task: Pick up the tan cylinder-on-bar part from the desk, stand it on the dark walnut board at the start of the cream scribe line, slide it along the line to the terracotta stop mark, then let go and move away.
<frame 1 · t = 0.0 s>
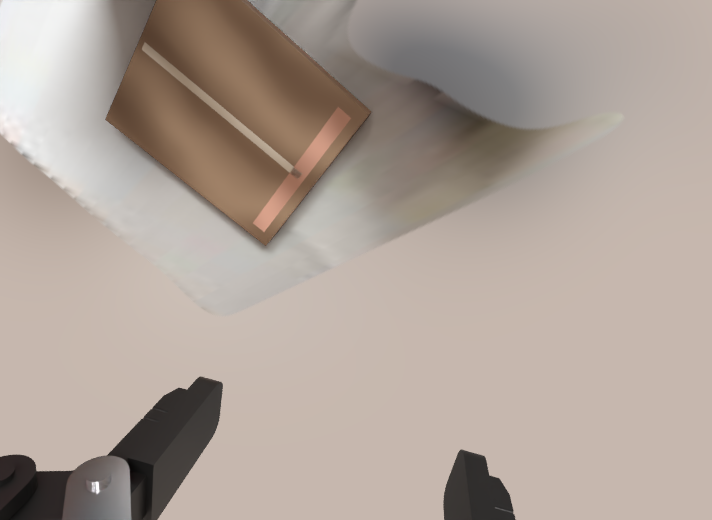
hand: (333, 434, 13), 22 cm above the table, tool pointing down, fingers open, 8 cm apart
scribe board: (237, 114, 32), on the table
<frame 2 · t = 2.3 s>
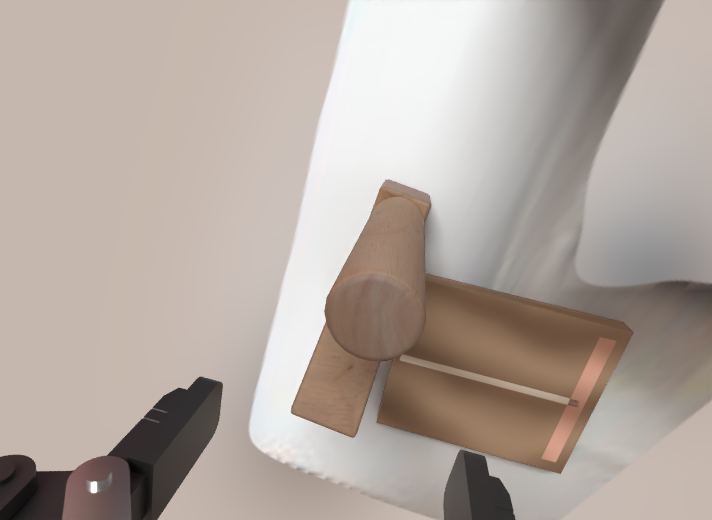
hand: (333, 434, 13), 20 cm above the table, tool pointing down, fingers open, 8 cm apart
tan cylinder-on-bar part: (383, 249, 32), on the table
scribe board: (490, 370, 34), on the table
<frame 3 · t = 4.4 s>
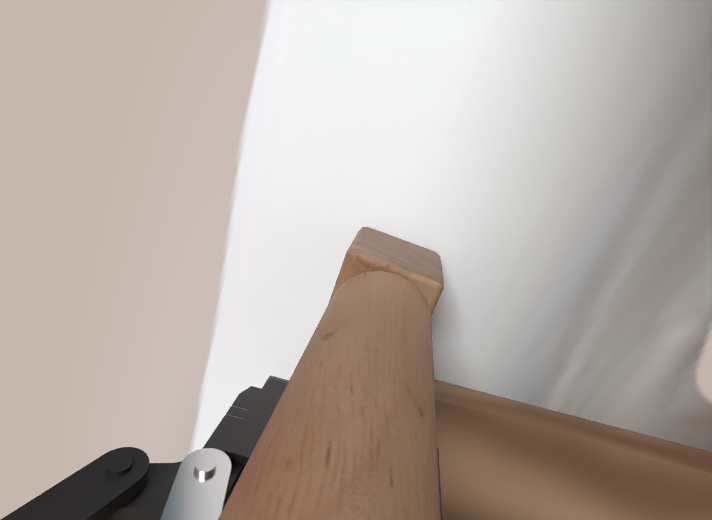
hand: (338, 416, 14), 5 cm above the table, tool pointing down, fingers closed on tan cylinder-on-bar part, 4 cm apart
tan cylinder-on-bar part: (362, 338, 19), on the table, touching gripper
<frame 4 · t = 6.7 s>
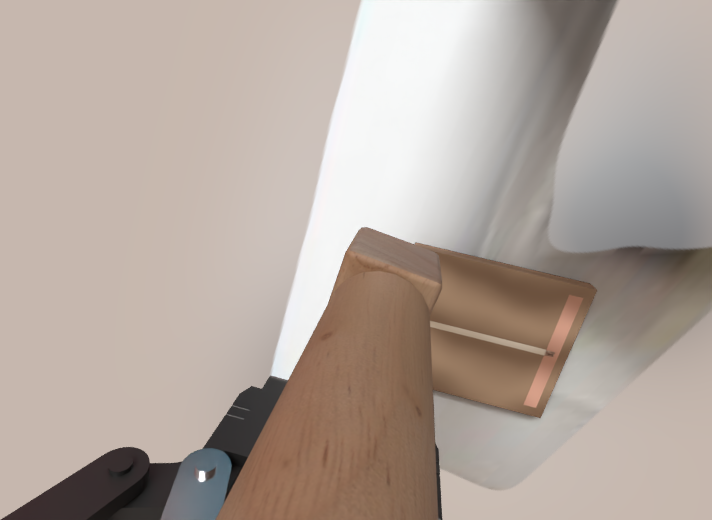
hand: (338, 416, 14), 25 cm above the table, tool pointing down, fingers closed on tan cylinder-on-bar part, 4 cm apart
tan cylinder-on-bar part: (361, 339, 19), point 20 cm above the table, touching gripper
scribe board: (478, 328, 39), on the table
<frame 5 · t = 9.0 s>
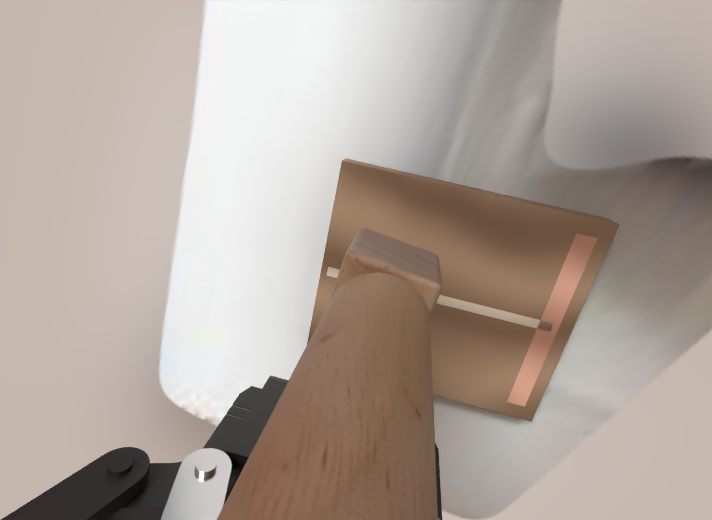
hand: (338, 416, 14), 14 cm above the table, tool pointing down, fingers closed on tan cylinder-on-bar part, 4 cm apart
tan cylinder-on-bar part: (362, 340, 19), point 9 cm above the table, touching gripper
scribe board: (442, 291, 27), on the table
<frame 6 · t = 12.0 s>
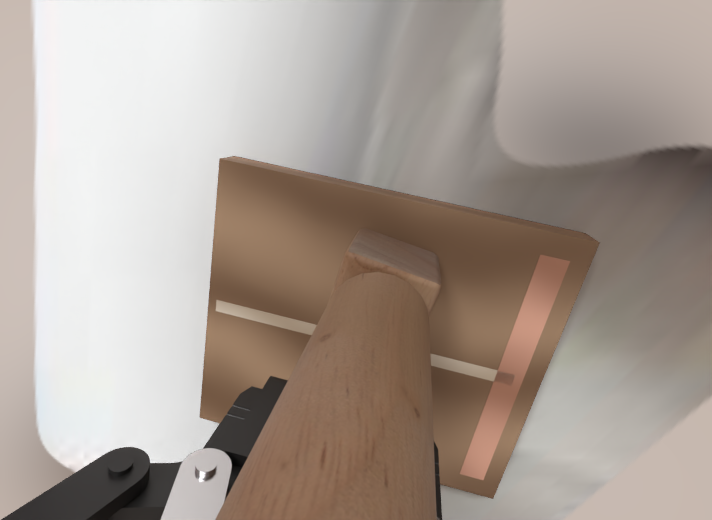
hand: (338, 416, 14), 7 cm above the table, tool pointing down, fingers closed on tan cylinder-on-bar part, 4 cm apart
tan cylinder-on-bar part: (361, 339, 19), point 1 cm above the table, touching gripper
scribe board: (372, 328, 21), on the table
when the fingers open (7 cm above the table, at t = 14.0 s): tan cylinder-on-bar part stays where it is, resting on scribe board.
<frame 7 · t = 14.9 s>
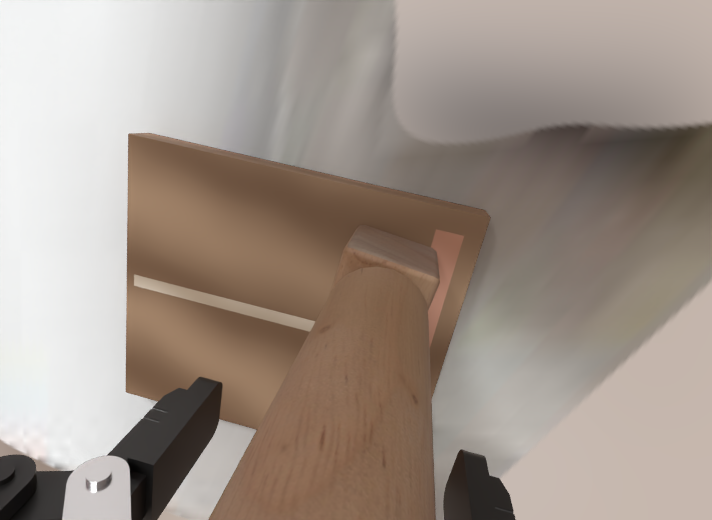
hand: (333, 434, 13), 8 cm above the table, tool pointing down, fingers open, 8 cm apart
tan cylinder-on-bar part: (362, 336, 19), point 1 cm above the table, touching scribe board
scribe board: (289, 305, 21), on the table
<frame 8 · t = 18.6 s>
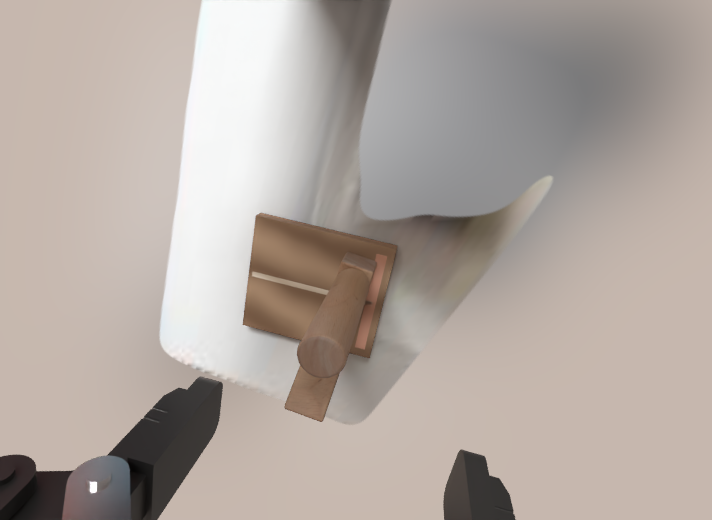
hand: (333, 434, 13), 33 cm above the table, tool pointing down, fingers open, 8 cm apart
tan cylinder-on-bar part: (349, 296, 47), point 1 cm above the table, touching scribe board
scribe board: (317, 284, 48), on the table
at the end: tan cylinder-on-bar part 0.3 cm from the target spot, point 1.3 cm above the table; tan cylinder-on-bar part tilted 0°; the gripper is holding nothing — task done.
